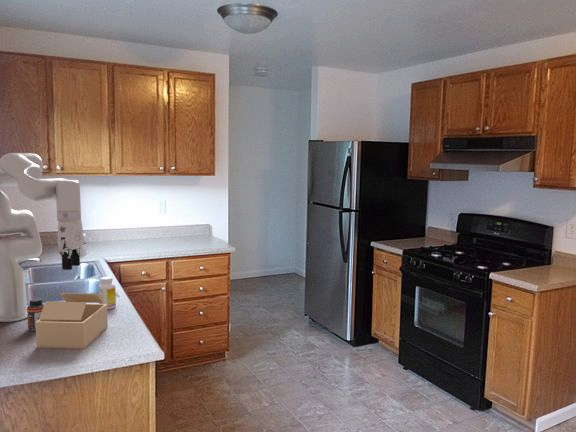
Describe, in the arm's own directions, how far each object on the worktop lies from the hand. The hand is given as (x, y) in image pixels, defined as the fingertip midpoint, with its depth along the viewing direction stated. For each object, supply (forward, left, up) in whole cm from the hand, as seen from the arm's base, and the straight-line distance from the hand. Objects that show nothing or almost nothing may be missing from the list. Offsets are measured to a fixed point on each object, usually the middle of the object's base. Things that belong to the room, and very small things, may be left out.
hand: (71, 267), depth 164 cm
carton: (0, 0, -25) cm, 25 cm away
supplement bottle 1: (-17, +7, -26) cm, 32 cm away
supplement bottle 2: (-1, +33, -26) cm, 42 cm away
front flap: (0, -7, -13) cm, 15 cm away
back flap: (0, +7, -13) cm, 15 cm away
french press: (-57, +130, -26) cm, 144 cm away
